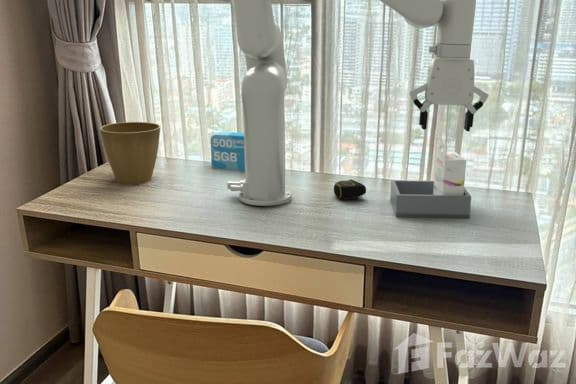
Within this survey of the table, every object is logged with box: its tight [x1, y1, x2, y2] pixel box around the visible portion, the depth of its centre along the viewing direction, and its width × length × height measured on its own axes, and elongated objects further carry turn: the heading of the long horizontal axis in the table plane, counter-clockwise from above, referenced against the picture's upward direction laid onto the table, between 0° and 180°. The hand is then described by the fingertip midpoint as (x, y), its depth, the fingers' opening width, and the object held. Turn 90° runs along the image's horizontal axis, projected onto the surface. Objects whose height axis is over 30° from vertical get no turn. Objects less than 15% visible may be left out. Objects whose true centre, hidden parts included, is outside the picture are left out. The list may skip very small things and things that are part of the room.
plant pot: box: [99, 121, 161, 186], centre depth 157 cm, size 15×15×16 cm
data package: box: [210, 131, 245, 172], centre depth 168 cm, size 12×4×12 cm, turn 73°
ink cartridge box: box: [433, 139, 467, 195], centre depth 137 cm, size 9×5×15 cm, turn 1°
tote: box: [389, 179, 472, 219], centre depth 139 cm, size 16×13×5 cm
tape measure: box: [333, 178, 367, 200], centre depth 147 cm, size 7×7×4 cm
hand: (445, 129), depth 138 cm, fingers open, 9 cm apart
